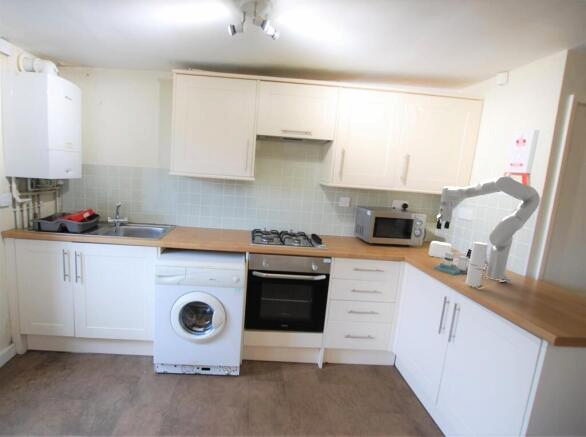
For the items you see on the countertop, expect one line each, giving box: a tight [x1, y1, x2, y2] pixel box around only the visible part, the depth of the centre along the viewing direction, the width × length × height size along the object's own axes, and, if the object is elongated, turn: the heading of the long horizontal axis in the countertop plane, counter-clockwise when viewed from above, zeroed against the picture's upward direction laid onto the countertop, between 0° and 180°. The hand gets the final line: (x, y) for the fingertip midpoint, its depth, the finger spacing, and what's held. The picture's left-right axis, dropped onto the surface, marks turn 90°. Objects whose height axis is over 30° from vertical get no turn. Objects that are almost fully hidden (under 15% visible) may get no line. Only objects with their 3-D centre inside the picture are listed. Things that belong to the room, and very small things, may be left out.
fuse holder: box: [439, 262, 468, 275], centre depth 198 cm, size 16×8×3 cm, turn 34°
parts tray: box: [434, 264, 461, 276], centre depth 193 cm, size 12×9×3 cm
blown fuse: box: [443, 252, 455, 266], centre depth 201 cm, size 4×4×10 cm
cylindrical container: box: [465, 241, 489, 287], centre depth 170 cm, size 7×7×25 cm
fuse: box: [457, 255, 470, 270], centre depth 194 cm, size 4×4×10 cm
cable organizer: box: [428, 240, 453, 259], centre depth 232 cm, size 15×11×12 cm
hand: (442, 228), depth 210 cm, fingers open, 9 cm apart
